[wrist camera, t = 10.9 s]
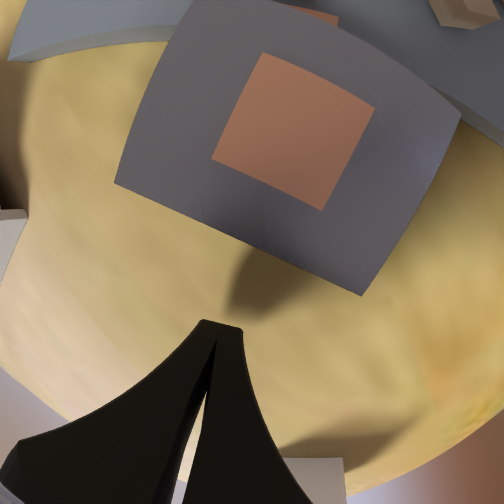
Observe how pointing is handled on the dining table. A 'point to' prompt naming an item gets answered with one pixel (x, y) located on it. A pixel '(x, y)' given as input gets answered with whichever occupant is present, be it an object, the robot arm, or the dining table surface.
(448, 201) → the dining table surface
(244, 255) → the dining table surface
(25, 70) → the dining table surface
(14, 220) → the grey slotted holder
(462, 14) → the sprocket
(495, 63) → the base plate
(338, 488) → the white cube
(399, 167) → the link block
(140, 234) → the dining table surface
